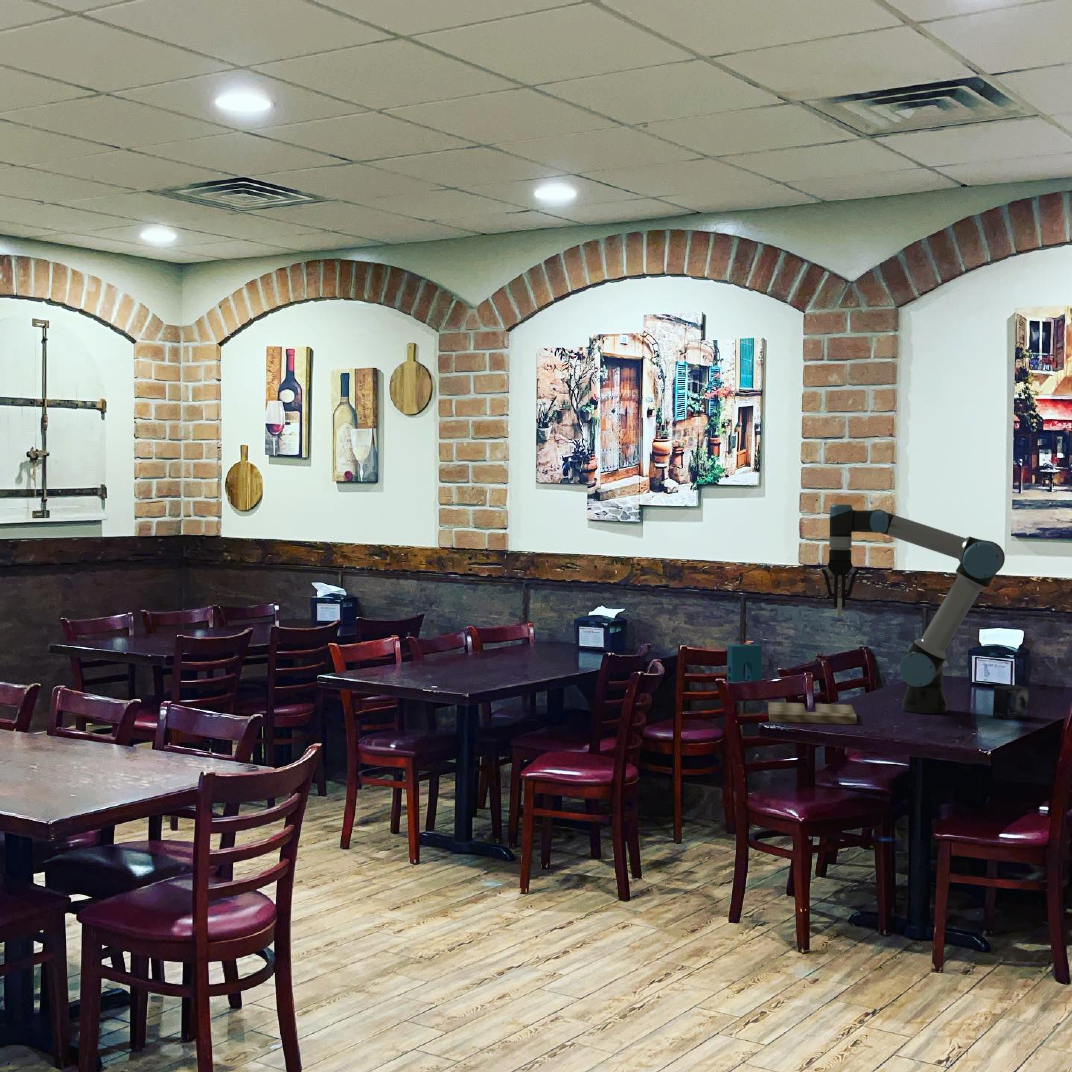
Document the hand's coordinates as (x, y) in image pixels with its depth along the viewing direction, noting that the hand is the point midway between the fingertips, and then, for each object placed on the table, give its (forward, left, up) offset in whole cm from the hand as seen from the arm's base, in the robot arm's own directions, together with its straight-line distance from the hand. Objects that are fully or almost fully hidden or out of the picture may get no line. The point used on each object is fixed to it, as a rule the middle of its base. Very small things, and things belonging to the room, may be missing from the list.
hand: (839, 616), depth 470 cm
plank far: (+18, +14, -32) cm, 39 cm away
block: (+32, -15, -33) cm, 48 cm away
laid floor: (+10, +24, -32) cm, 42 cm away
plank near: (+2, +14, -32) cm, 35 cm away
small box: (-57, +4, -33) cm, 66 cm away
